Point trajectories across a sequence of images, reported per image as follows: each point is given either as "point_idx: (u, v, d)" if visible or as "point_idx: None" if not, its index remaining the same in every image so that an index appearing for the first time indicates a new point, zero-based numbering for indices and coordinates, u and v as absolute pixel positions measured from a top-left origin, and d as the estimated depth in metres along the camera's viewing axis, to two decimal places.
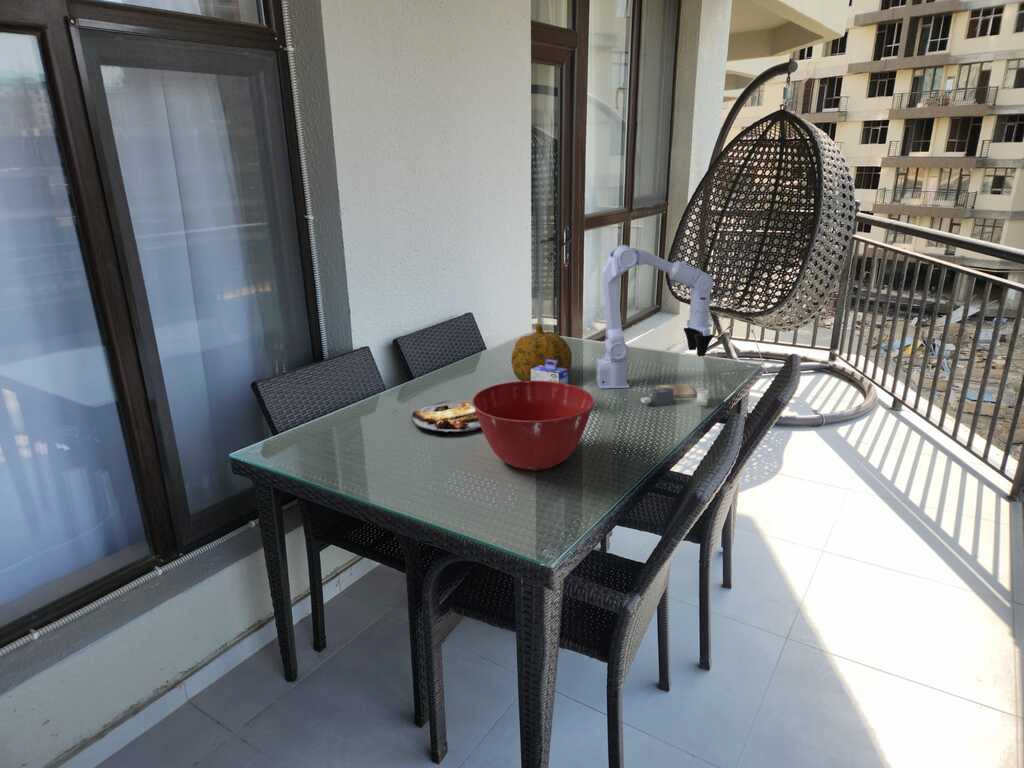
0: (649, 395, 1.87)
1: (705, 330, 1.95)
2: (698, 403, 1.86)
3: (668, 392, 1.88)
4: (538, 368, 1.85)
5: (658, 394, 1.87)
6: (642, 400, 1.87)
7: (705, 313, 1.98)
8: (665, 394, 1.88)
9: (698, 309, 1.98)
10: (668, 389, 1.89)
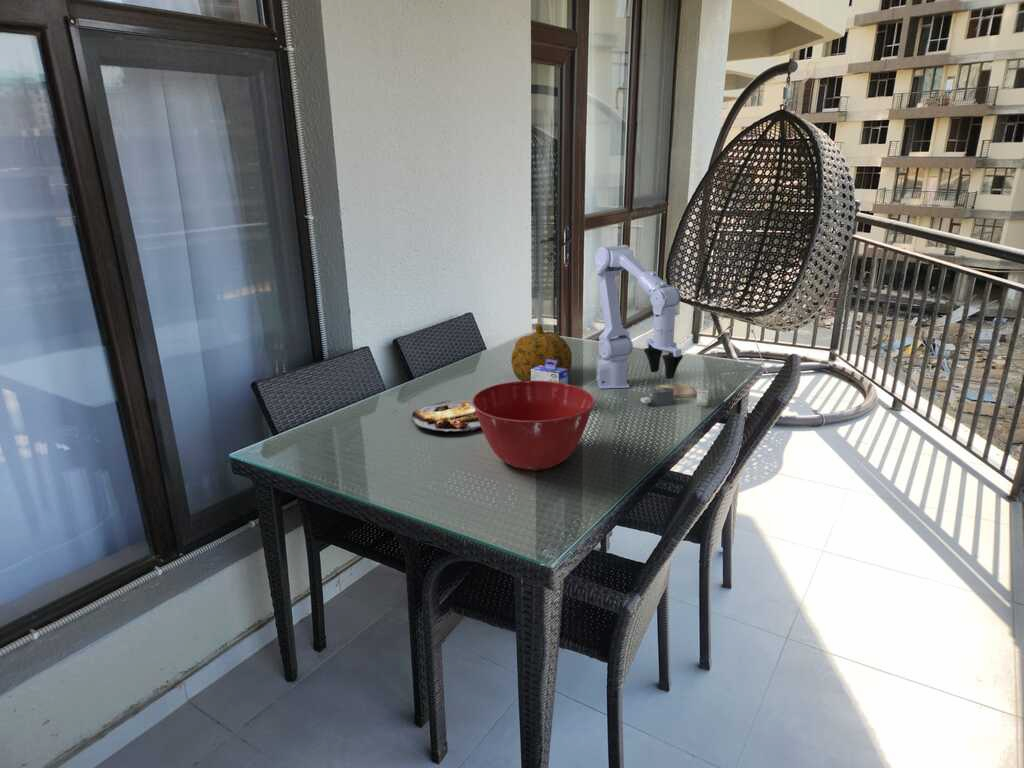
0: (649, 395, 1.87)
1: (676, 351, 1.78)
2: (698, 403, 1.86)
3: (668, 392, 1.88)
4: (538, 368, 1.85)
5: (658, 394, 1.87)
6: (642, 400, 1.87)
7: (672, 332, 1.81)
8: (665, 394, 1.88)
9: (654, 326, 1.82)
10: (668, 389, 1.89)
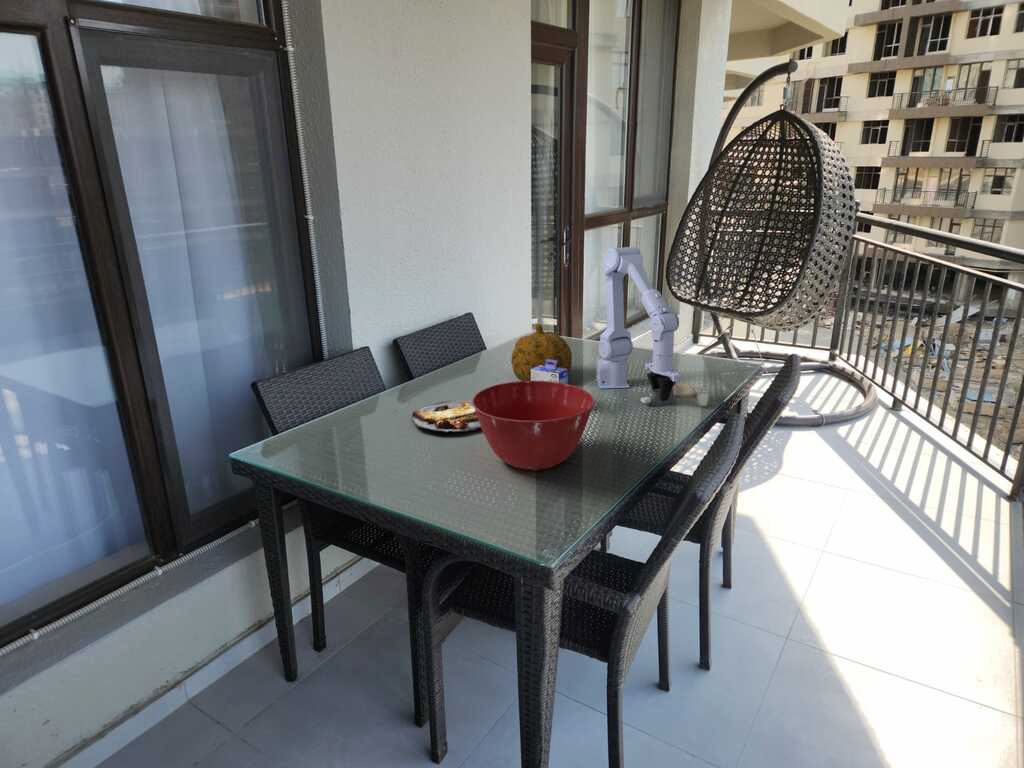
0: (649, 395, 1.87)
1: (675, 376, 1.80)
2: (698, 403, 1.86)
3: None
4: (538, 368, 1.85)
5: (658, 394, 1.87)
6: (642, 400, 1.87)
7: (670, 357, 1.83)
8: None
9: (653, 351, 1.85)
10: None
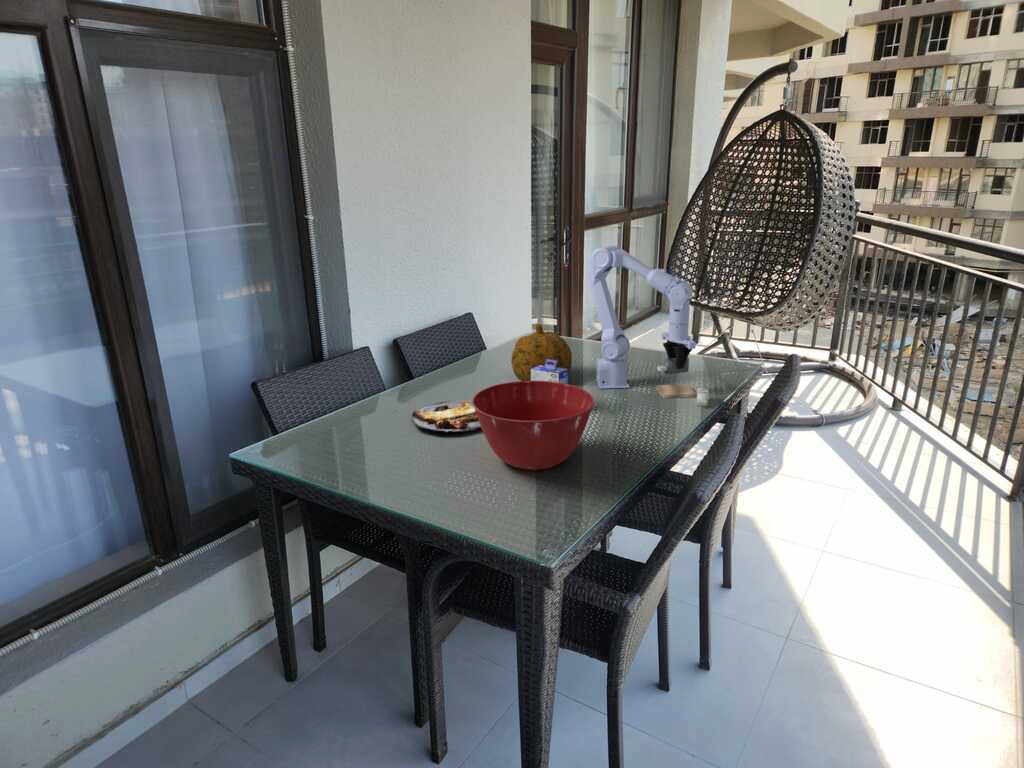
0: (665, 363, 1.94)
1: (691, 343, 1.86)
2: (698, 403, 1.86)
3: None
4: (538, 368, 1.85)
5: (674, 362, 1.93)
6: (658, 368, 1.94)
7: (686, 325, 1.90)
8: None
9: (672, 321, 1.90)
10: None
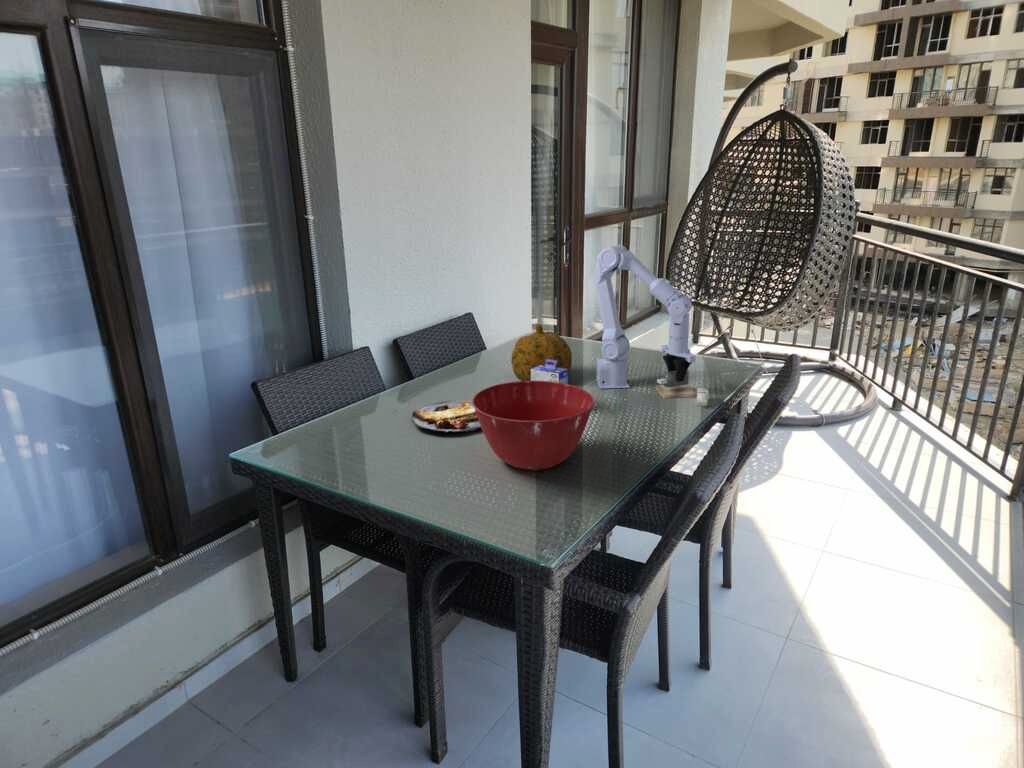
0: (665, 376, 1.95)
1: (691, 357, 1.88)
2: (698, 403, 1.86)
3: None
4: (538, 368, 1.85)
5: (674, 375, 1.94)
6: (658, 381, 1.95)
7: (686, 339, 1.91)
8: None
9: (672, 334, 1.91)
10: None
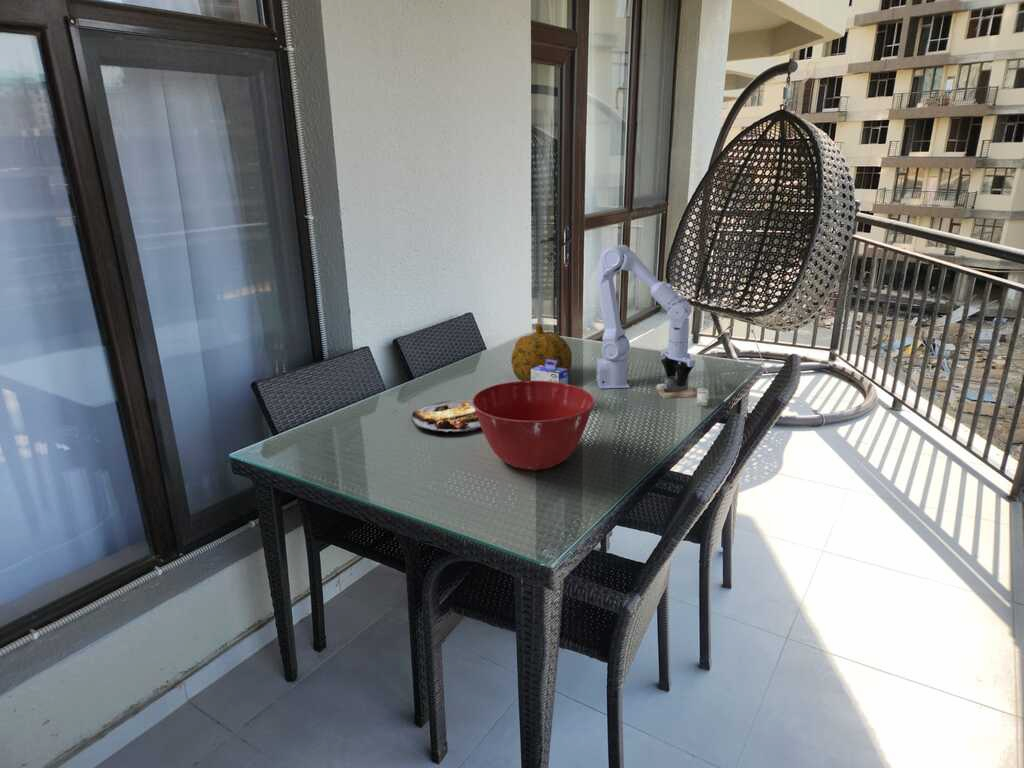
0: (665, 382, 1.96)
1: (690, 361, 1.88)
2: (698, 403, 1.86)
3: None
4: (538, 368, 1.85)
5: (673, 381, 1.95)
6: (658, 386, 1.95)
7: (686, 343, 1.92)
8: None
9: (672, 339, 1.92)
10: None
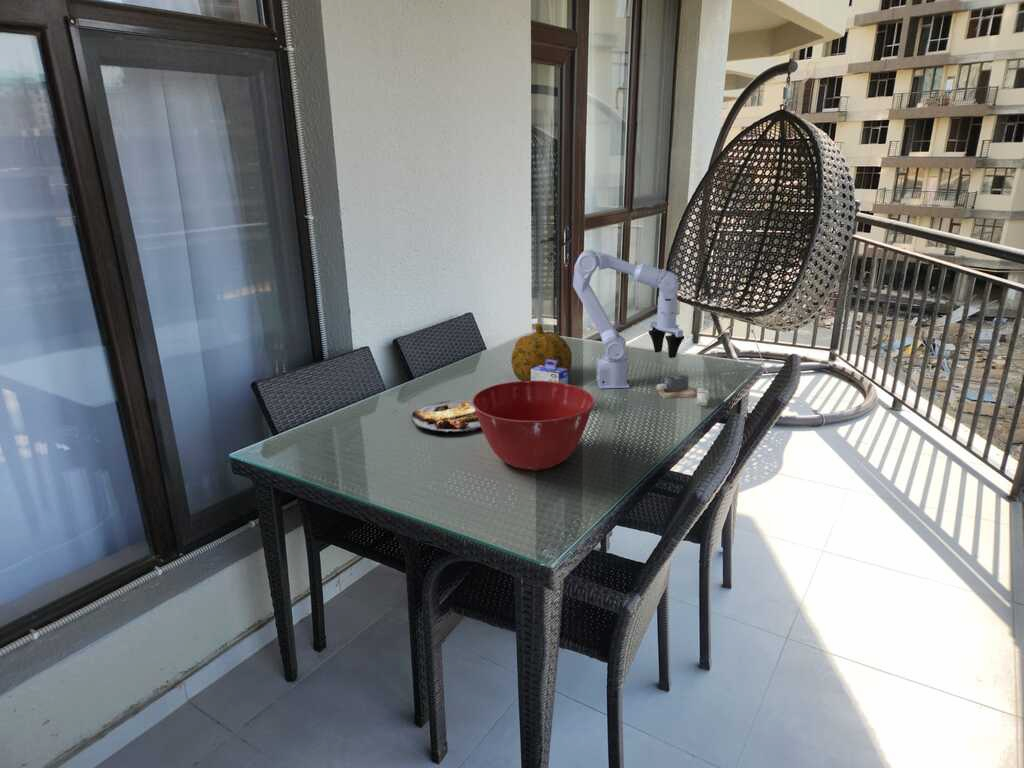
0: (665, 382, 1.96)
1: (678, 331, 1.93)
2: (698, 403, 1.86)
3: (683, 379, 1.96)
4: (538, 368, 1.85)
5: (673, 381, 1.95)
6: (658, 386, 1.95)
7: (674, 314, 1.96)
8: (680, 381, 1.96)
9: (663, 310, 1.95)
10: (683, 376, 1.98)
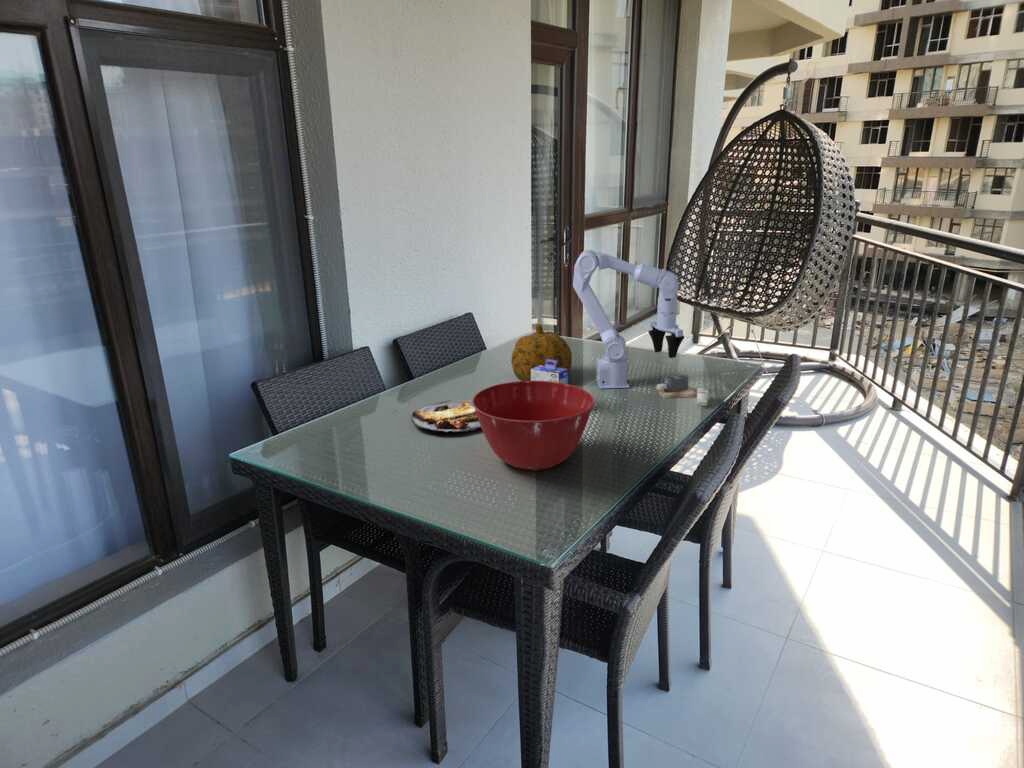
0: (665, 382, 1.96)
1: (678, 331, 1.93)
2: (698, 403, 1.86)
3: (683, 379, 1.96)
4: (538, 368, 1.85)
5: (673, 381, 1.95)
6: (658, 386, 1.95)
7: (674, 314, 1.96)
8: (680, 381, 1.96)
9: (663, 310, 1.95)
10: (683, 376, 1.98)
